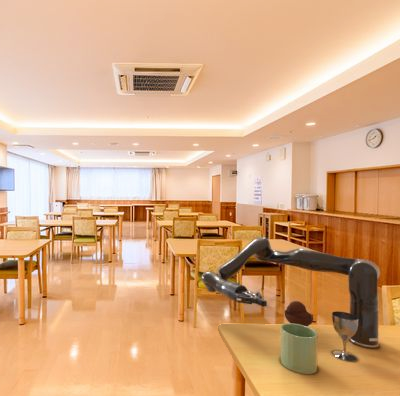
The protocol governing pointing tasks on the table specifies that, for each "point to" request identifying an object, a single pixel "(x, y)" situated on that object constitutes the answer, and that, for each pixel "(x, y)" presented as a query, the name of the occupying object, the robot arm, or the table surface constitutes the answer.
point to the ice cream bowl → (298, 314)
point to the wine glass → (345, 332)
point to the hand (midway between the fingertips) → (265, 303)
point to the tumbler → (298, 348)
